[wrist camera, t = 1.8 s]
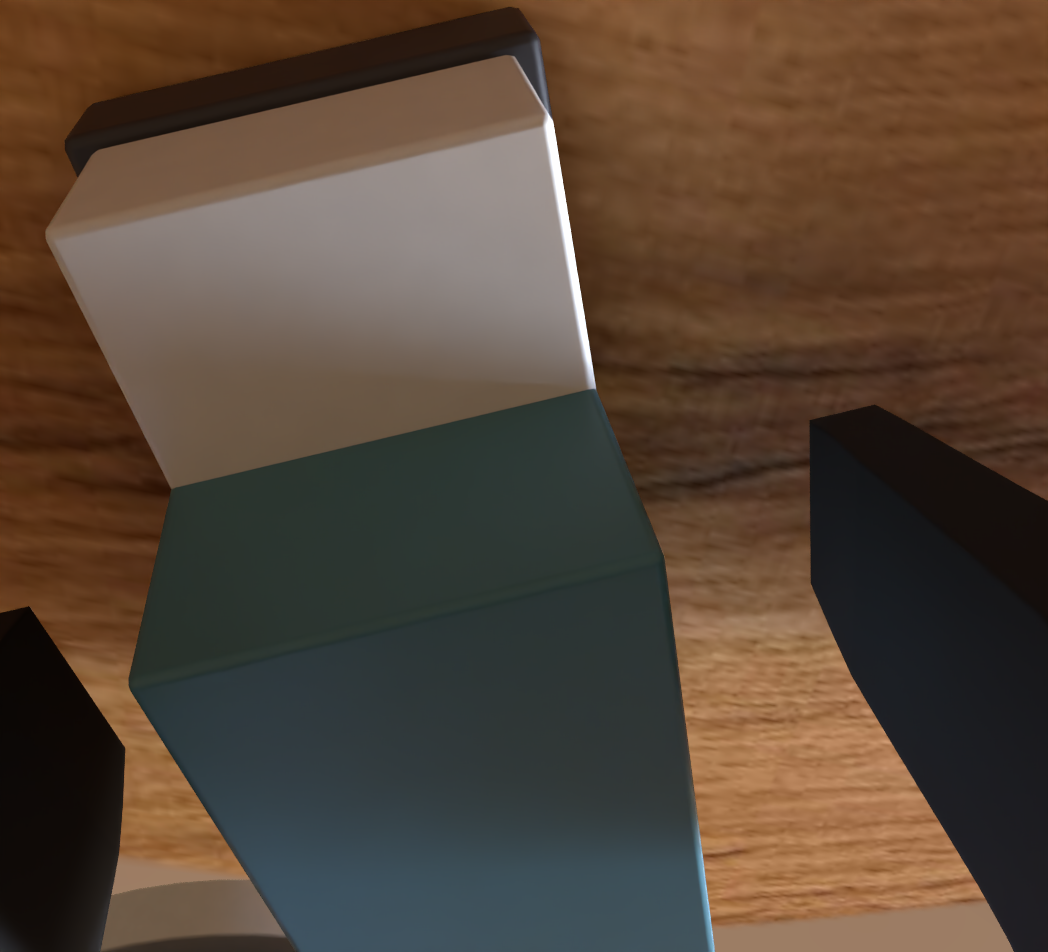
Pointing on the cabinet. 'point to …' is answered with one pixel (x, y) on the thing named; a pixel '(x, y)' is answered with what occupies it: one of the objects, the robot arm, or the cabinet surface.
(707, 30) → the cabinet surface
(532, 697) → the toy truck block
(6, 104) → the cabinet surface
